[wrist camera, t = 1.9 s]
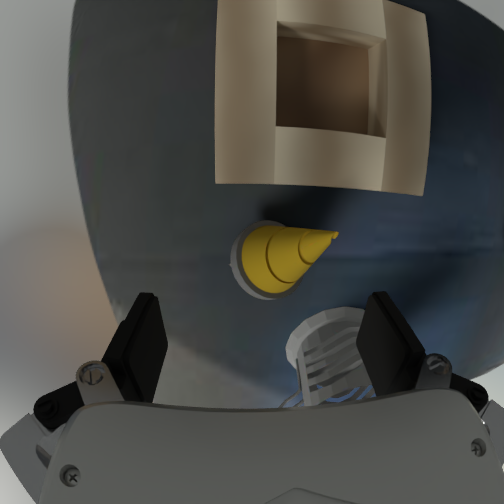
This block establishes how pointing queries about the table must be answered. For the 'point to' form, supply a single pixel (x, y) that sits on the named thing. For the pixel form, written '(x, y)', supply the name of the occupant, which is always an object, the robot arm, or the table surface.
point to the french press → (328, 357)
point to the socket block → (322, 94)
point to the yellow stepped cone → (275, 257)
